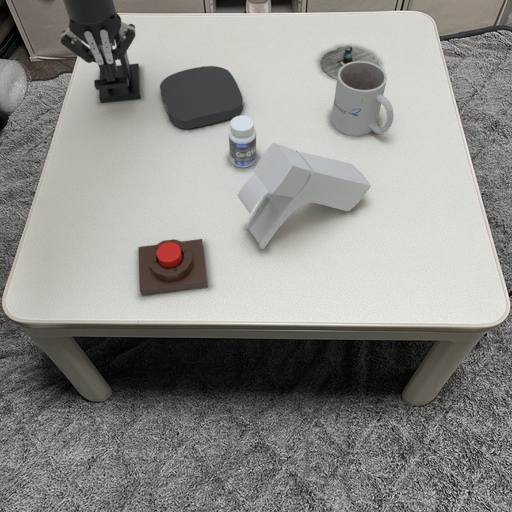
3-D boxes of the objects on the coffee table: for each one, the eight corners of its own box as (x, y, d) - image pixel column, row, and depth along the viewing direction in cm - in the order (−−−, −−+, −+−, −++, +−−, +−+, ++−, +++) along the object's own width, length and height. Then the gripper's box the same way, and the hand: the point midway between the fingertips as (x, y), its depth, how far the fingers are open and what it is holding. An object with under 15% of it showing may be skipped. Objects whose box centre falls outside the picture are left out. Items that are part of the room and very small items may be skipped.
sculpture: (312, 73, 108) (322, 33, 105) (323, 79, 116) (333, 42, 114) (367, 86, 104) (379, 45, 102) (375, 91, 112) (386, 53, 110)
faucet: (373, 185, 83) (294, 164, 68) (312, 255, 91) (230, 250, 76) (350, 161, 86) (270, 135, 72) (294, 231, 94) (211, 220, 79)
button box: (141, 296, 77) (137, 284, 75) (140, 253, 82) (136, 240, 79) (207, 287, 78) (205, 274, 75) (203, 244, 83) (200, 231, 80)
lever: (129, 88, 96) (127, 81, 93) (97, 91, 95) (93, 84, 93) (124, 32, 98) (121, 23, 96) (92, 35, 98) (88, 26, 96)
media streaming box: (248, 116, 100) (248, 104, 97) (175, 134, 97) (172, 121, 95) (225, 72, 108) (225, 59, 105) (157, 87, 105) (155, 75, 103)
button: (159, 270, 76) (156, 263, 75) (157, 250, 78) (155, 243, 77) (183, 266, 77) (181, 260, 75) (181, 247, 79) (180, 240, 77)
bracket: (140, 98, 103) (126, 40, 93) (100, 102, 103) (81, 45, 92) (139, 68, 109) (126, 10, 98) (101, 72, 108) (83, 14, 98)
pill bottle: (236, 171, 92) (234, 135, 85) (226, 154, 94) (223, 118, 87) (260, 163, 93) (260, 127, 86) (249, 146, 95) (248, 110, 88)
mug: (322, 114, 100) (328, 70, 92) (359, 100, 102) (368, 55, 94) (359, 154, 94) (368, 110, 85) (397, 138, 96) (410, 93, 88)
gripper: (126, -33, 82) (147, 62, 96) (42, -25, 81) (75, 69, 96) (126, -8, 78) (148, 87, 92) (37, 0, 77) (73, 95, 91)
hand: (111, 78), depth 94 cm, fingers closed
